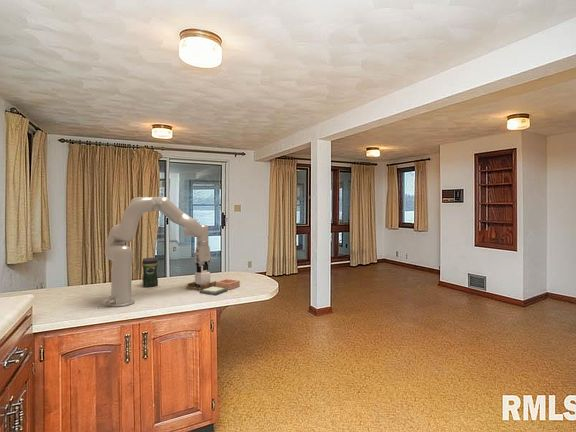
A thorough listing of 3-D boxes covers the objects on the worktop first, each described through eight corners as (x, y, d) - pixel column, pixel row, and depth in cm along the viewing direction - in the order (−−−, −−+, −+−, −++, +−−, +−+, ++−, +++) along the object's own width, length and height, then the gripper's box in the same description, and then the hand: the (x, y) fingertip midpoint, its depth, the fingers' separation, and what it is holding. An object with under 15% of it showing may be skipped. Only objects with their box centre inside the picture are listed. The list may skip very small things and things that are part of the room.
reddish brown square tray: (229, 290, 210) (229, 283, 210) (215, 288, 215) (215, 282, 215) (239, 286, 220) (239, 280, 220) (226, 284, 225) (226, 278, 225)
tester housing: (215, 295, 197) (215, 293, 197) (199, 293, 203) (199, 290, 203) (227, 291, 208) (227, 288, 208) (212, 288, 213) (212, 286, 213)
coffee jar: (157, 284, 226) (157, 256, 225) (158, 286, 219) (158, 258, 218) (141, 285, 222) (141, 257, 221) (142, 288, 215) (142, 259, 214)
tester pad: (214, 293, 199) (214, 291, 199) (203, 291, 203) (203, 289, 203) (224, 290, 207) (224, 288, 207) (212, 288, 211) (212, 286, 211)
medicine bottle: (203, 281, 223) (203, 263, 223) (210, 283, 219) (210, 264, 218) (194, 283, 218) (194, 264, 217) (201, 285, 213) (201, 266, 213)
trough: (200, 290, 208) (200, 286, 208) (186, 288, 213) (186, 284, 213) (218, 285, 223) (218, 280, 223) (204, 283, 229) (204, 279, 228)
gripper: (197, 245, 208) (197, 274, 209) (215, 243, 224) (215, 269, 224) (188, 244, 212) (188, 273, 212) (206, 242, 227) (206, 268, 227)
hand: (202, 271), depth 218 cm, fingers closed on medicine bottle, 6 cm apart
